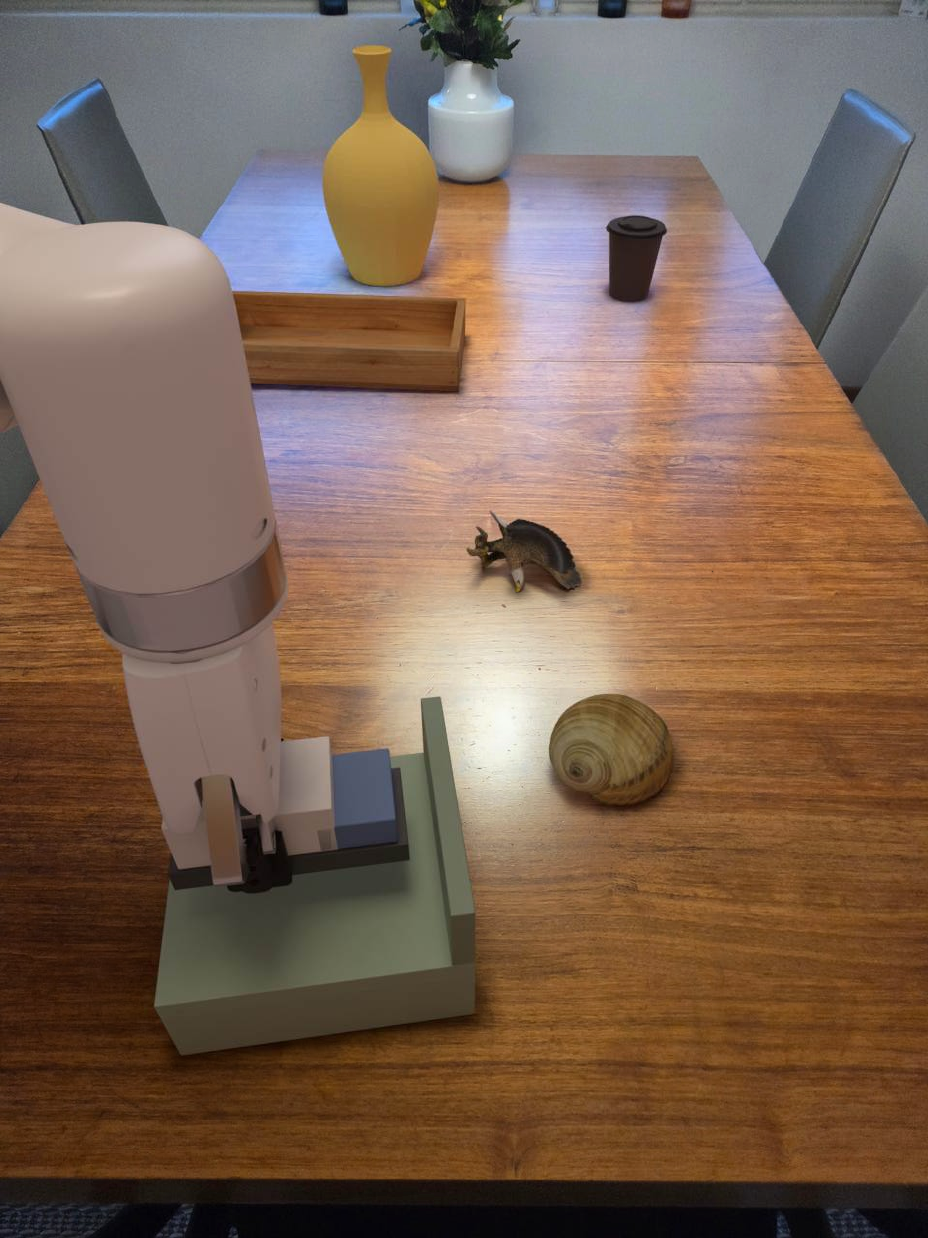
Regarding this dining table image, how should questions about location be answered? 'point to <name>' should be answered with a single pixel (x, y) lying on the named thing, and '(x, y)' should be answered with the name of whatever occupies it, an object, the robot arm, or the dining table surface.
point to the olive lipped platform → (332, 935)
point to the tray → (352, 339)
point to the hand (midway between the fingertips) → (262, 833)
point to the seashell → (612, 749)
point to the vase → (380, 187)
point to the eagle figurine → (528, 551)
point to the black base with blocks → (317, 814)
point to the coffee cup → (633, 255)
